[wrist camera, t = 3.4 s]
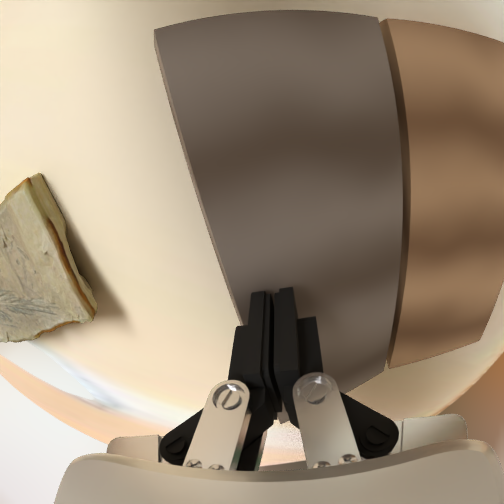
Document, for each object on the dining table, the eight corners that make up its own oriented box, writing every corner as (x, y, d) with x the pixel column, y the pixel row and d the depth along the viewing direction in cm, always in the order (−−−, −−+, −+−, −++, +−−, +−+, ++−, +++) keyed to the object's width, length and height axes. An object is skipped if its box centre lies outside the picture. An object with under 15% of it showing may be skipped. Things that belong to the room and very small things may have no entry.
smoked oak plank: (154, 46, 8) (153, 29, 6) (349, 26, 9) (377, 17, 7) (270, 403, 18) (280, 424, 17) (369, 354, 20) (383, 370, 18)
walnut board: (371, 27, 9) (386, 18, 7) (496, 47, 7) (516, 47, 6) (383, 349, 20) (389, 368, 18) (470, 324, 18) (479, 340, 17)
